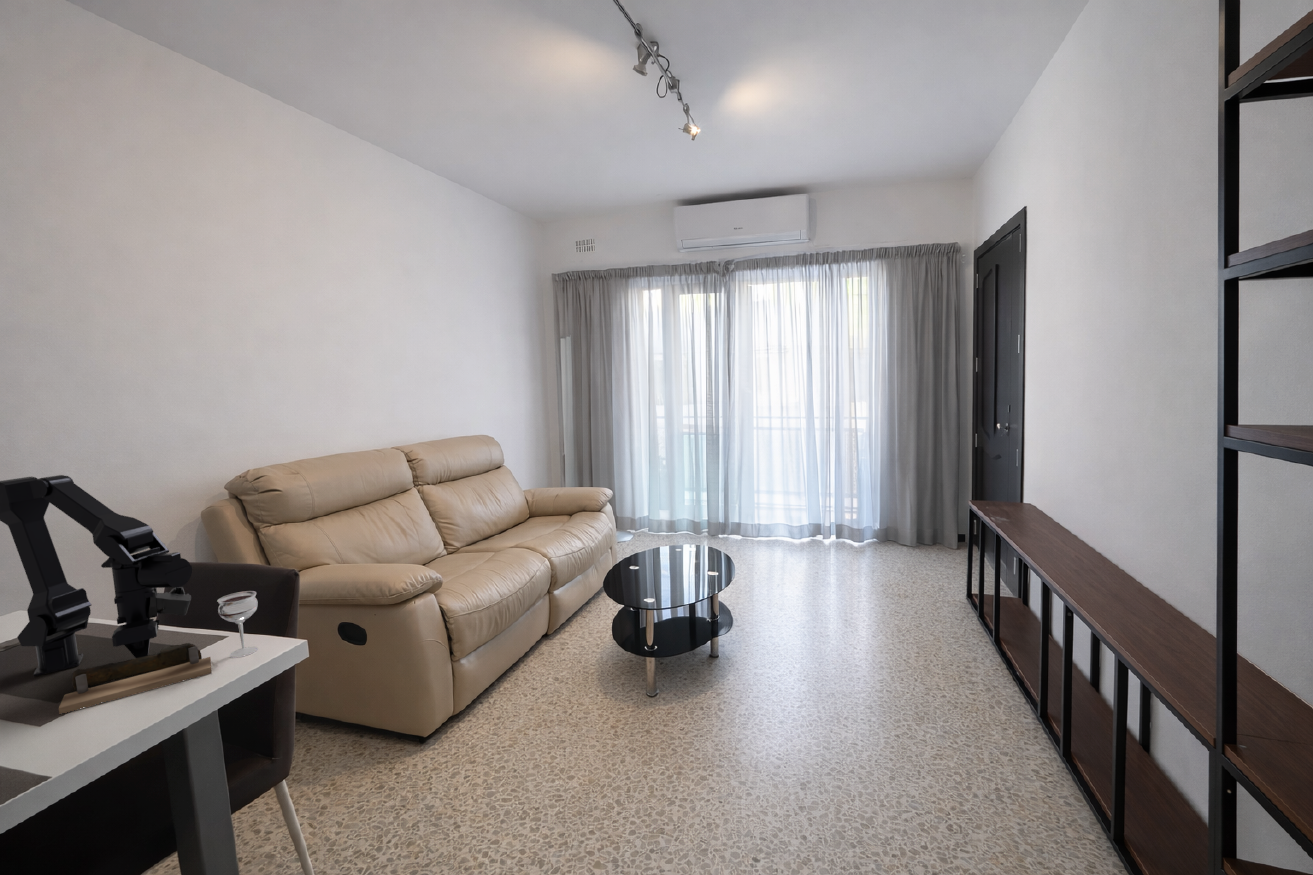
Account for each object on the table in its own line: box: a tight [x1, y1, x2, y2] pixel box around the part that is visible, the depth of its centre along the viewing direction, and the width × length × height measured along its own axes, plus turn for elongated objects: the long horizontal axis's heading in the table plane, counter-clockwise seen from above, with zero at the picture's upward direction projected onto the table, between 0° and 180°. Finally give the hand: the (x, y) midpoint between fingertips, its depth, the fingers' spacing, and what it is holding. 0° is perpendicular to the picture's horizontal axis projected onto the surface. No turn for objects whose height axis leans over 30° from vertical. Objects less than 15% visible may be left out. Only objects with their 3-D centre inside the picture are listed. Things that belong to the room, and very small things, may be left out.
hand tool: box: [71, 642, 203, 692], centre depth 114 cm, size 19×4×5 cm, turn 118°
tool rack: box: [58, 645, 212, 715], centre depth 109 cm, size 6×21×4 cm, turn 128°
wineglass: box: [216, 590, 259, 659], centre depth 122 cm, size 7×7×12 cm
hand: (143, 661), depth 118 cm, fingers closed
